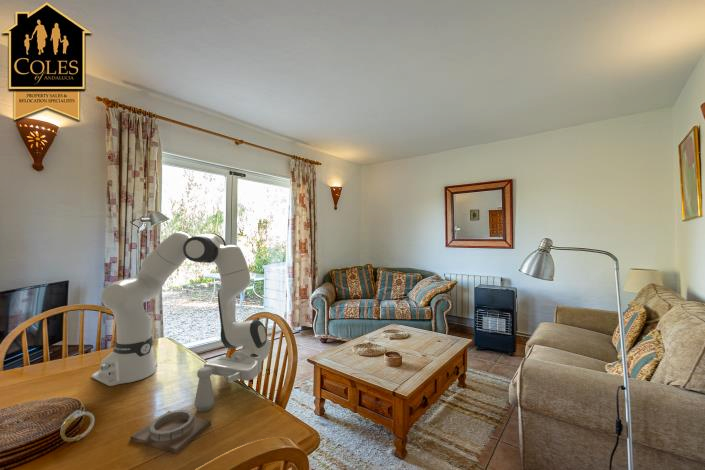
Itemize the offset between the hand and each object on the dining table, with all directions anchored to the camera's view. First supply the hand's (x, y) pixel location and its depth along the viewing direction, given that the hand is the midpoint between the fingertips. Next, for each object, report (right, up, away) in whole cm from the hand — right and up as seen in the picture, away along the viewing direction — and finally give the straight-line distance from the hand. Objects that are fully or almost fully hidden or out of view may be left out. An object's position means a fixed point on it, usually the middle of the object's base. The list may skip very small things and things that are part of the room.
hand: (215, 378), depth 101 cm
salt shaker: (-1, -8, -5) cm, 9 cm away
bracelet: (-29, -8, -19) cm, 36 cm away
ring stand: (-5, -7, -16) cm, 19 cm away
